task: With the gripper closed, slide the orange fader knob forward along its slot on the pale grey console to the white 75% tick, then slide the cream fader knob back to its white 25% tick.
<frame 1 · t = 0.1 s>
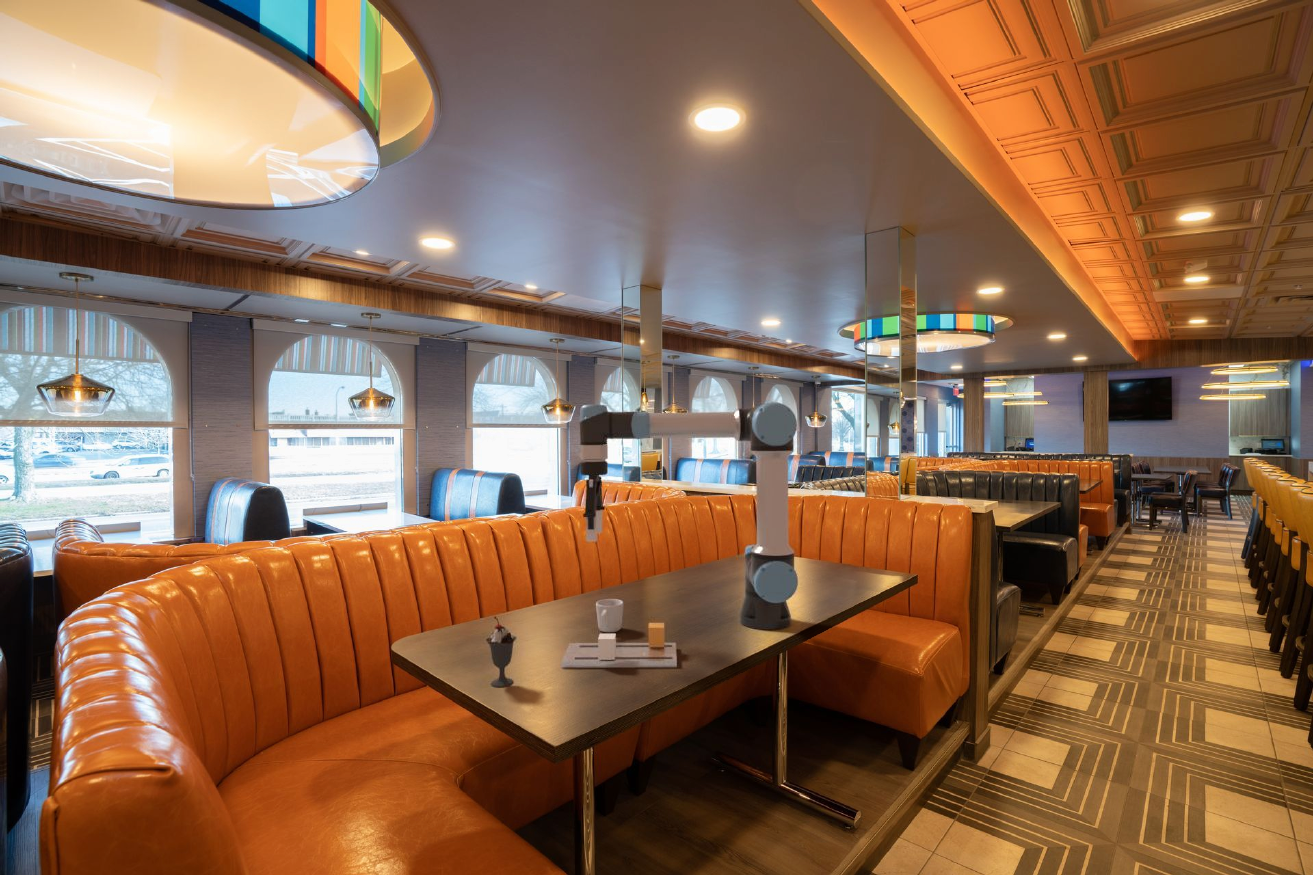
hand: (594, 537, 169), 28 cm above the table, fingers open, 13 cm apart
cup: (608, 632, 175), on the table
console: (620, 657, 154), on the table
fader a: (656, 634, 158), point 4 cm above the table, slide at 2.0 cm
sundae: (501, 683, 139), on the table
fader b: (607, 646, 150), point 4 cm above the table, slide at 14.0 cm
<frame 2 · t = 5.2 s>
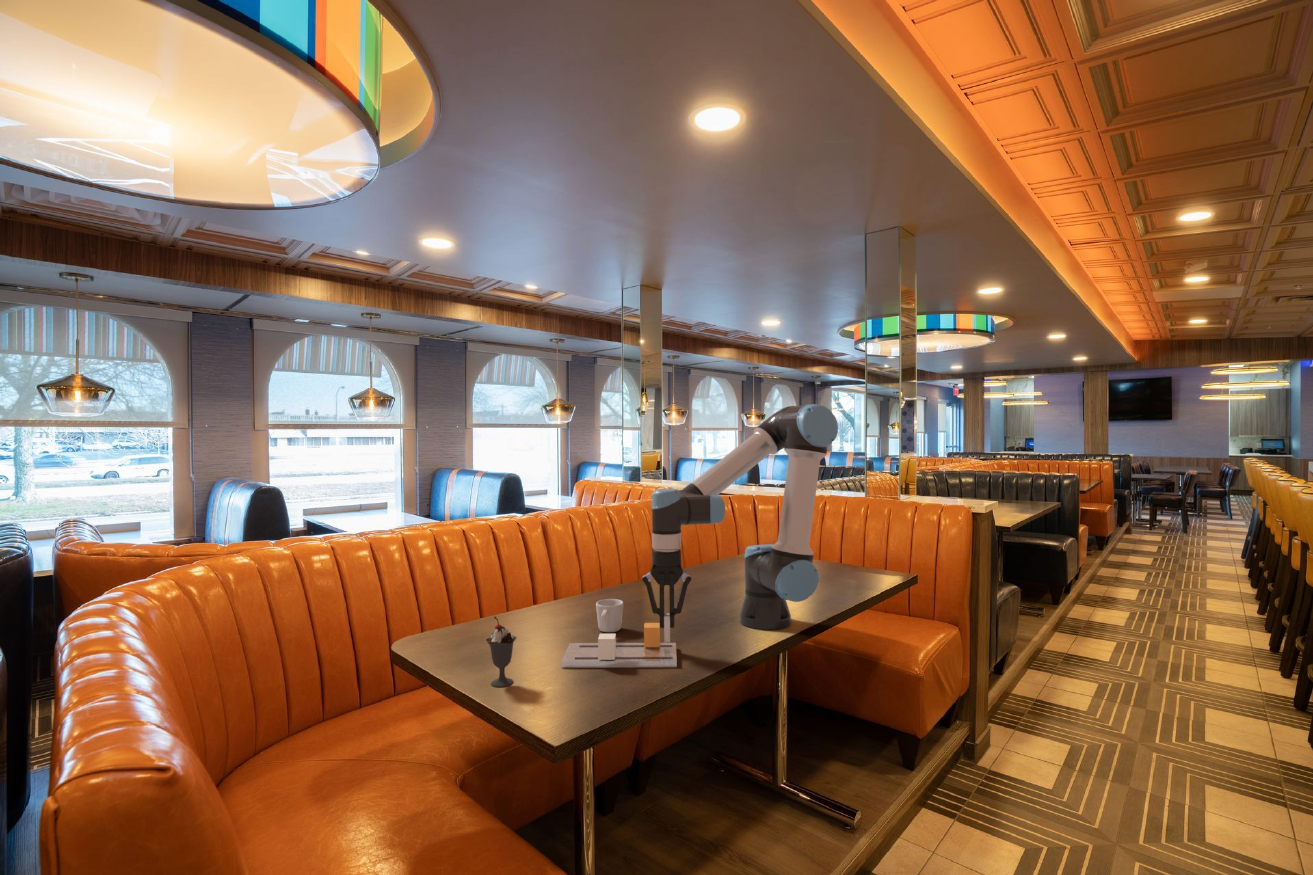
hand: (667, 639, 158), 3 cm above the table, fingers closed
fader a: (652, 634, 158), point 4 cm above the table, slide at 3.2 cm, touching gripper
everything else where it was.
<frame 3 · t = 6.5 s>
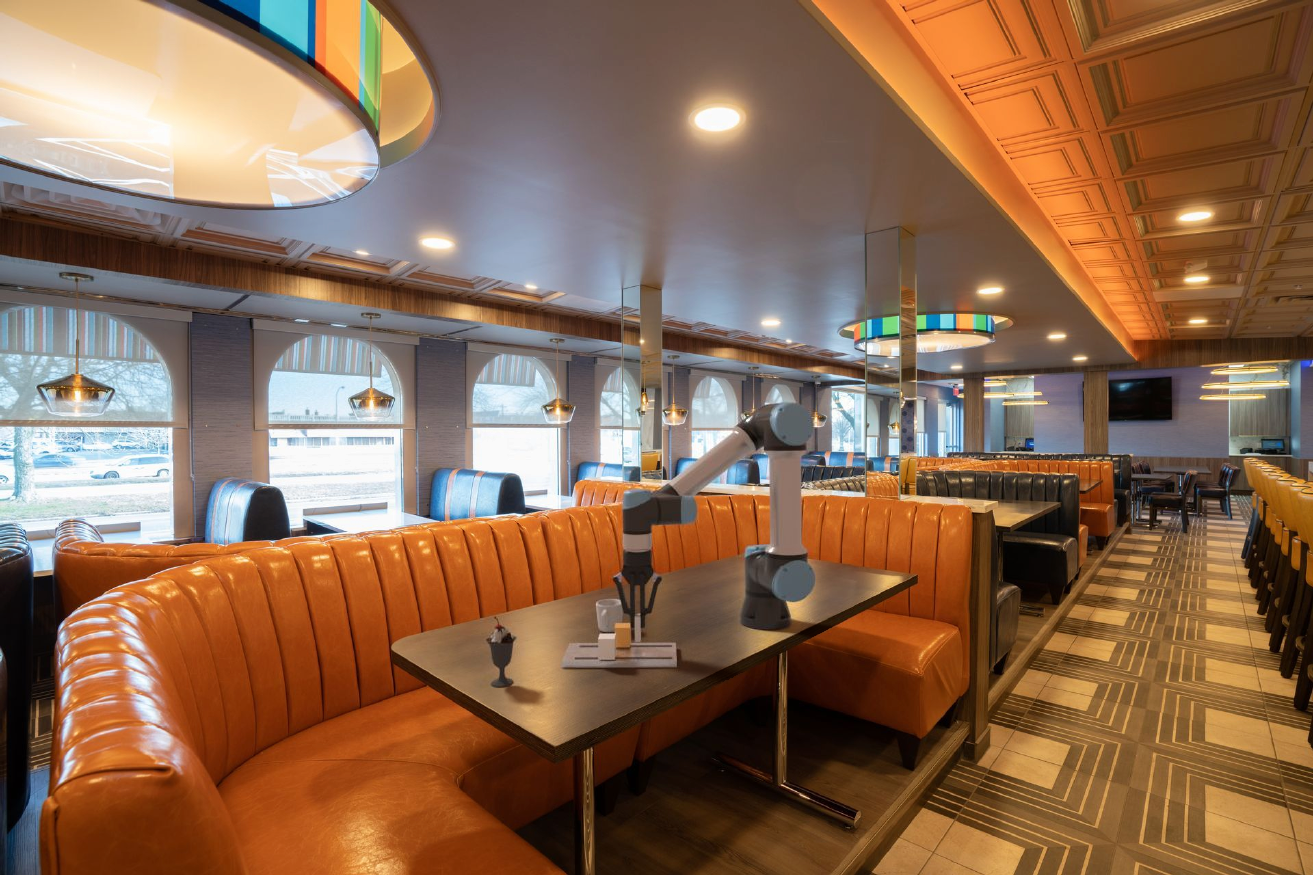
hand: (637, 640, 158), 3 cm above the table, fingers closed
fader a: (622, 634, 158), point 4 cm above the table, slide at 10.7 cm, touching gripper
everything else where it was.
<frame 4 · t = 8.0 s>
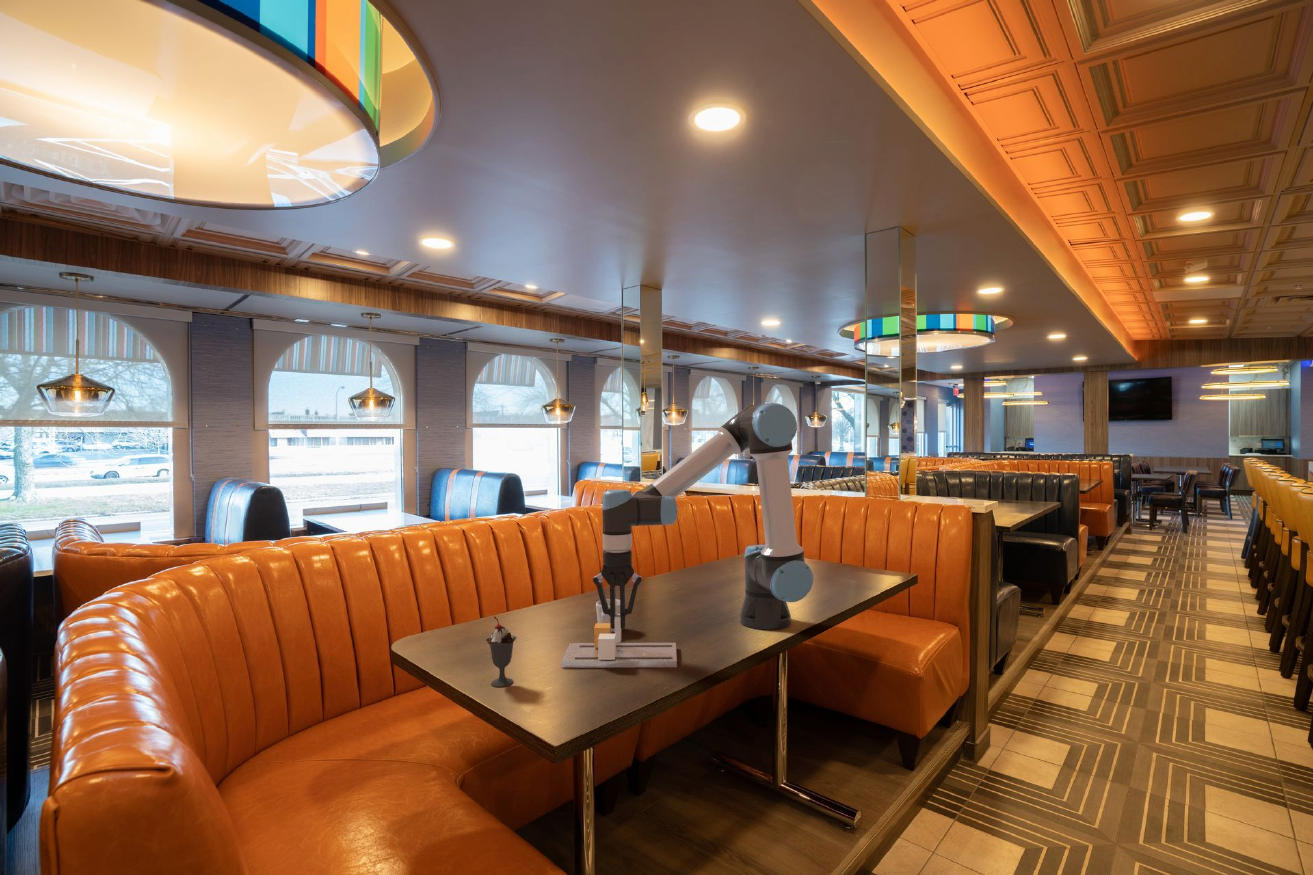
hand: (618, 640, 158), 3 cm above the table, fingers closed
fader a: (602, 635, 158), point 4 cm above the table, slide at 15.9 cm, touching gripper
everything else where it was.
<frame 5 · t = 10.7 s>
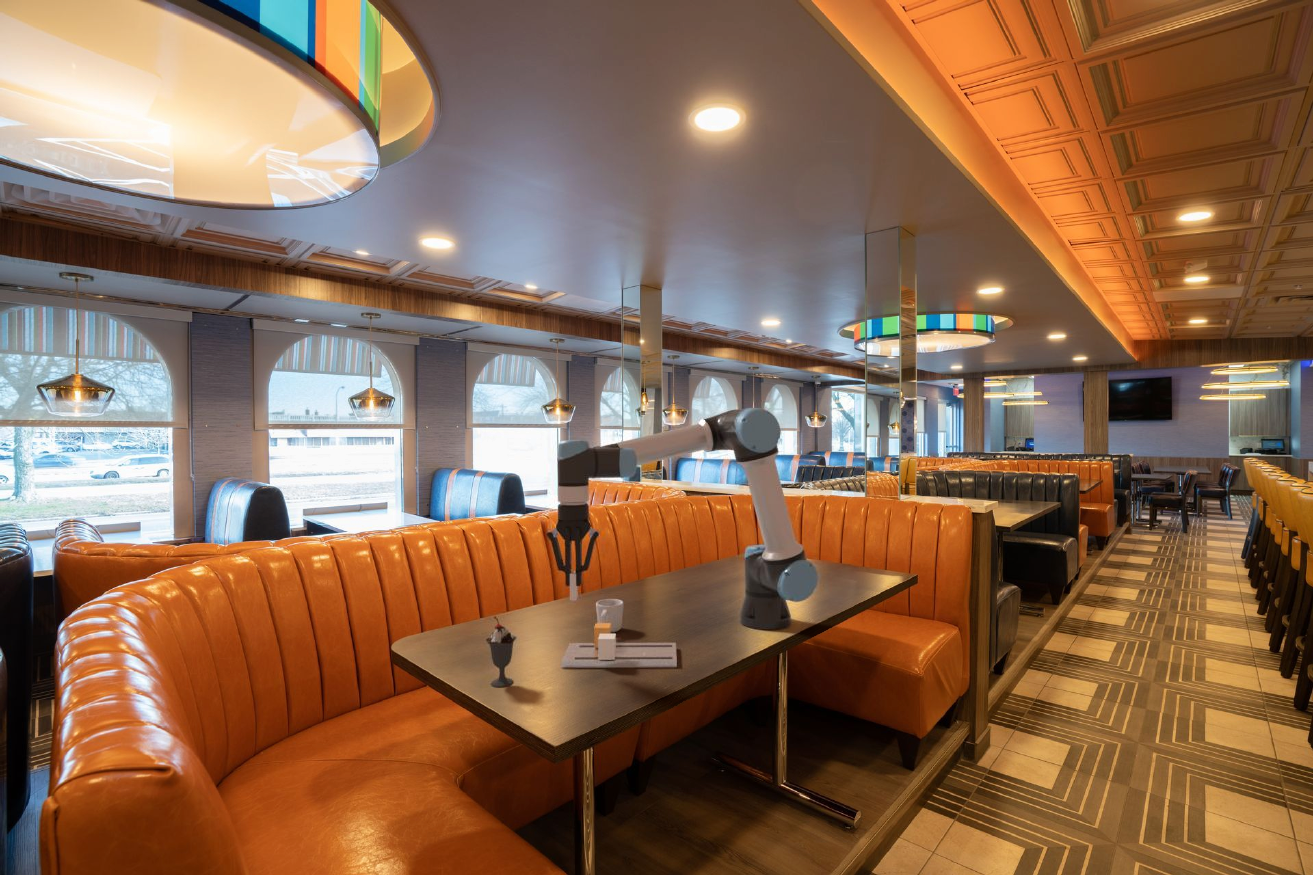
hand: (573, 598, 150), 16 cm above the table, fingers closed
fader a: (602, 635, 158), point 4 cm above the table, slide at 16.0 cm
everything else where it was.
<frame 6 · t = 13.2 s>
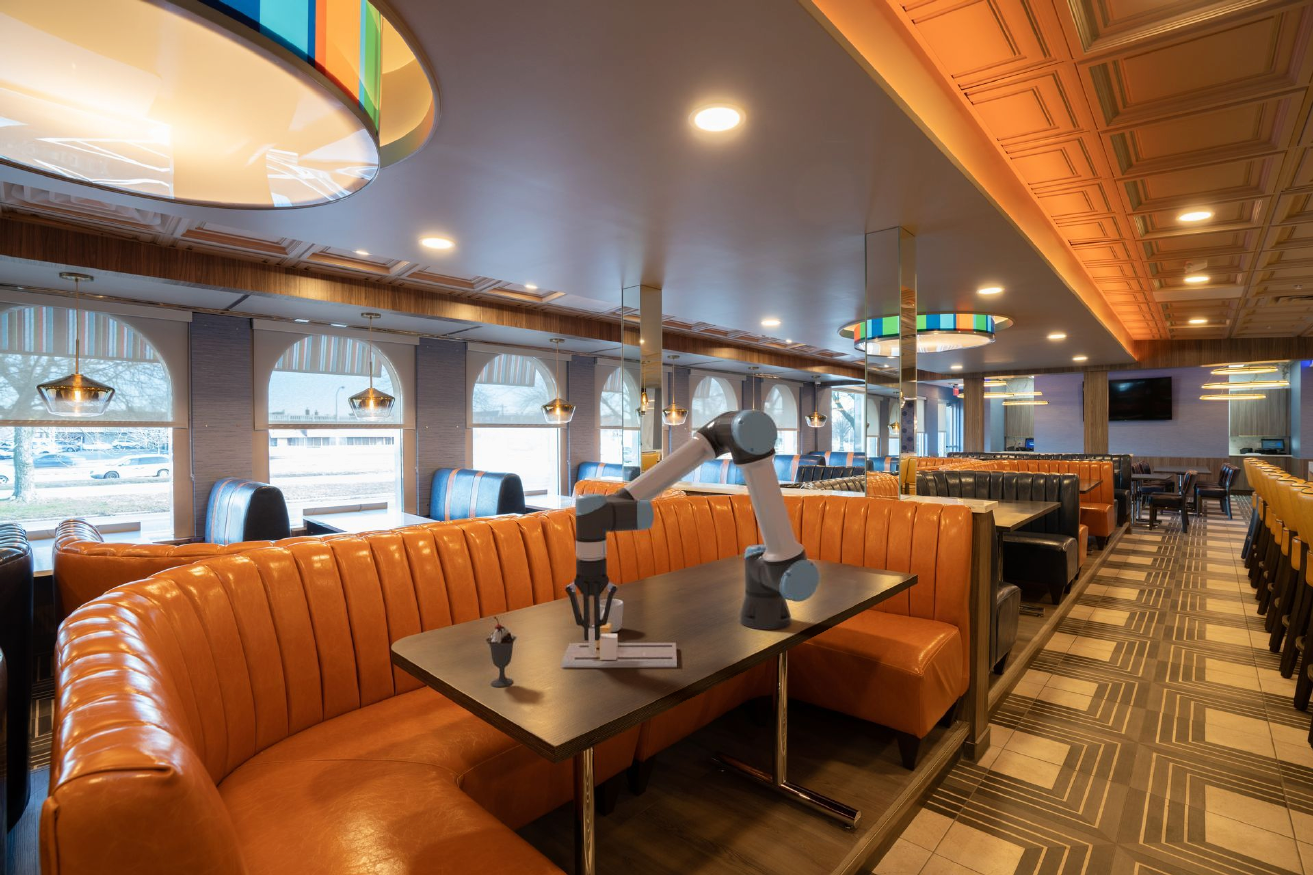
hand: (592, 653, 150), 3 cm above the table, fingers closed
fader b: (608, 646, 150), point 4 cm above the table, slide at 13.6 cm, touching gripper
everything else where it was.
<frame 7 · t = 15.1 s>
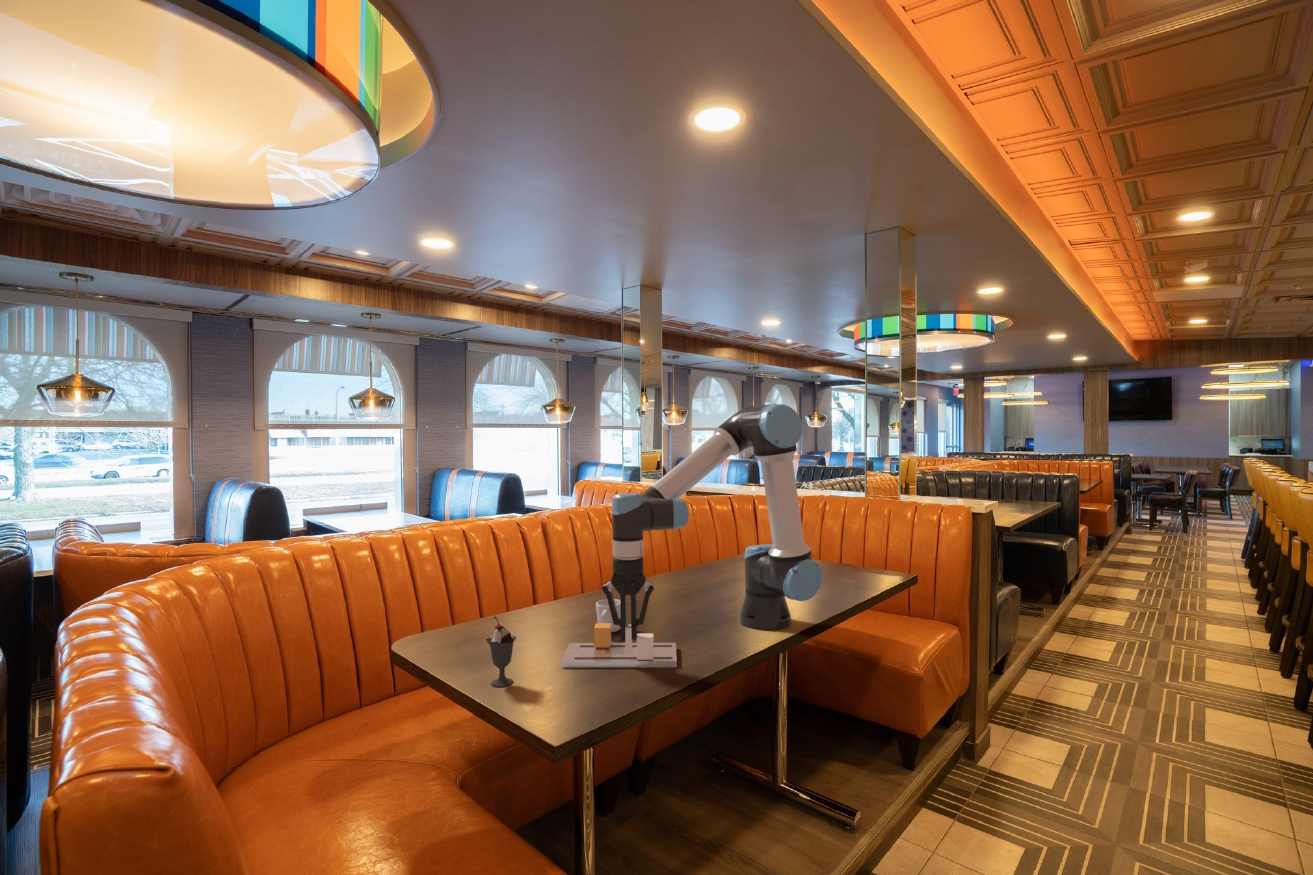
hand: (628, 652, 150), 3 cm above the table, fingers closed
fader b: (645, 646, 150), point 4 cm above the table, slide at 4.7 cm, touching gripper
everything else where it was.
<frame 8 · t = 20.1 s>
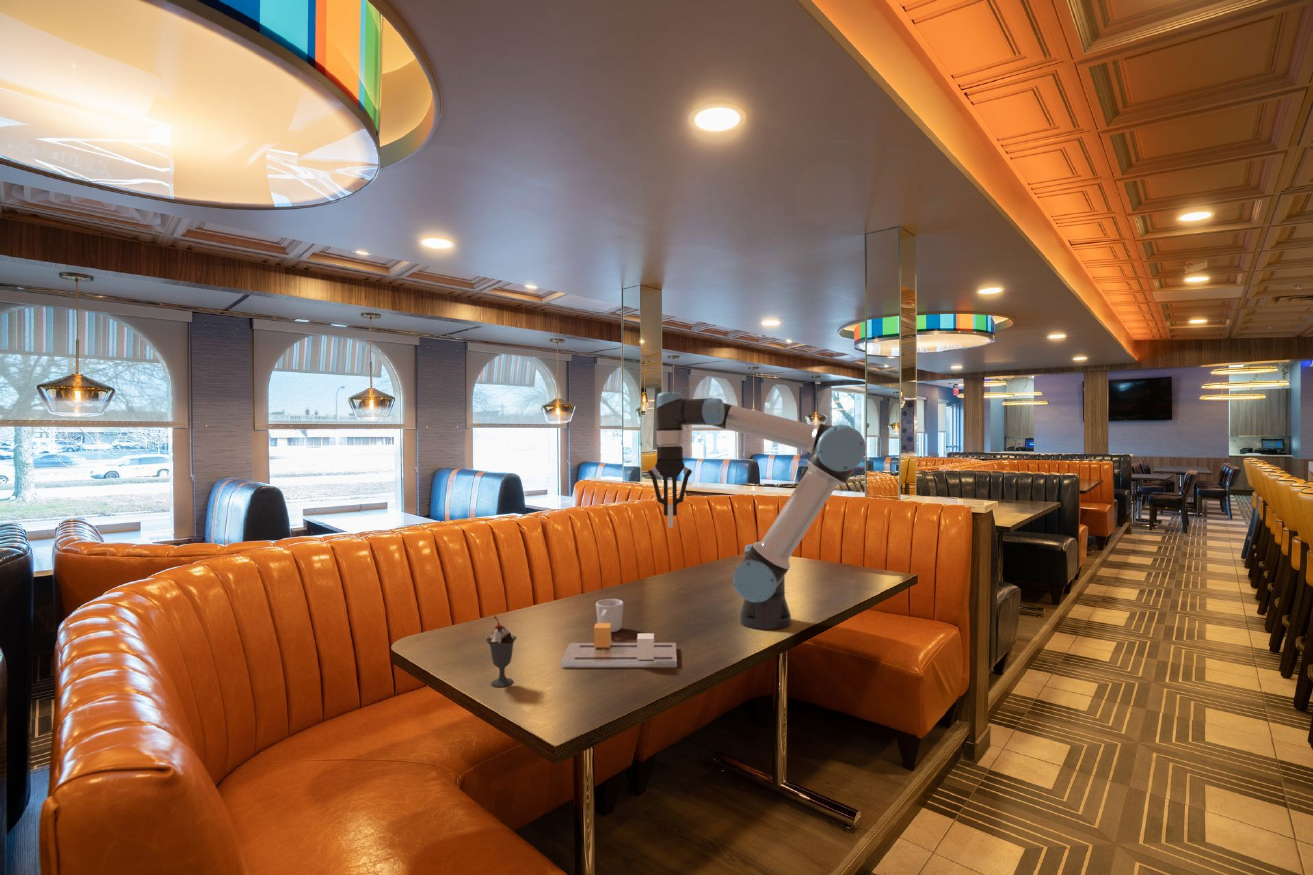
hand: (670, 526, 177), 29 cm above the table, fingers closed
fader b: (645, 646, 150), point 4 cm above the table, slide at 4.5 cm
everything else where it was.
at the end: fader a slide at 16.0 cm; fader b slide at 4.5 cm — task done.
